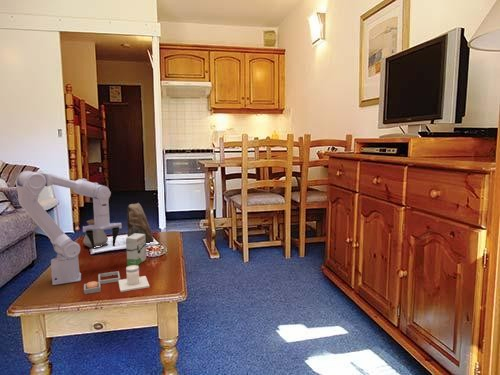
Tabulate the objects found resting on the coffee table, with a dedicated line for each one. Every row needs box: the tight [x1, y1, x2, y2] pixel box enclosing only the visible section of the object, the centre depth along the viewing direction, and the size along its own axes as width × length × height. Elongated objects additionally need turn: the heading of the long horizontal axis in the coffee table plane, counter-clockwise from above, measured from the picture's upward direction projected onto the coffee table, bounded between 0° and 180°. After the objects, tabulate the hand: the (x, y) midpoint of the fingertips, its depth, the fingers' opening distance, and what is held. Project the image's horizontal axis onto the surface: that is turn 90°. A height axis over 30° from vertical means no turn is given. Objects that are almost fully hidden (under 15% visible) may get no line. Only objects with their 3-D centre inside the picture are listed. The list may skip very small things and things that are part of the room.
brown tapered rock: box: [125, 202, 154, 243], centre depth 183 cm, size 13×13×20 cm
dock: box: [83, 270, 121, 295], centre depth 135 cm, size 12×14×2 cm
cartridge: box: [125, 265, 140, 285], centre depth 133 cm, size 4×4×6 cm
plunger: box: [86, 280, 99, 289], centre depth 129 cm, size 4×4×2 cm
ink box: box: [125, 233, 147, 266], centre depth 156 cm, size 9×5×12 cm, turn 168°
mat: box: [117, 275, 150, 293], centre depth 134 cm, size 10×10×1 cm
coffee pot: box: [82, 218, 109, 249], centre depth 174 cm, size 21×12×15 cm, turn 21°
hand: (103, 246), depth 148 cm, fingers open, 7 cm apart
